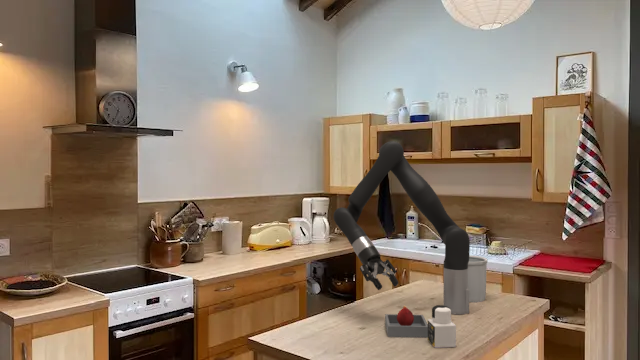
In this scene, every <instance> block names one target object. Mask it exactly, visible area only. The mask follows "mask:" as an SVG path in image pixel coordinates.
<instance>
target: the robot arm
mask: <svg viewBox="0 0 640 360" xmlns="http://www.w3.org/2000/svg"><path fill="white" fill-rule="evenodd" d="M404 151H405V150H404V148H403V145H402V144H401V143H400V142H398V141H393V140H390V141H387V142H385V143H383V144H382V145H381V146H380V148H379V150H378V156H377V158H376V160H375V162H374V164H373V166H372V167H371V168H370V170H369V171H368V172H367V173H366V174H365V176H364V177H363V178H362V179H361V181H360V182H359V183H358V184H357V185H356V187H355V188H354V190H353V191H352V192H351V194H350V195H349V197H348V199H347V200H348V203H349V204H348V206H347V208H346V207H338V208H337V209H335V210H334V212H333V221H334V223H335V224H336V226H337V228H338V229H340V231H341V232H342V233H343V235H345V238H347V241H348V242H349V243H350V246H351V247H352V249H353V252H354V253H355V254H356V256H357V258H358V259H359V261H360V262H361V264H362V265H361V266H360V267H359V270H360V272H361V274H362V275H363V277H364V279H365V280H366V282H371V283H372V284H373V285H374V287H375V289H377V290H378V291H380V290H381V289H383V285H382V283H381V281H380V280H379V278H377V276H378V275H382V276H386V277H388V278H389V280H390V282H391V284H392V285H393V287H397V286H398V285H399V280H398V278H397V277H396V276H395V274H396V273H397V269H395V267H394V266H393V264H392V263H391V261H390V260H389V259H386V260H384V261H383V260H382V258H381V254H380V252H379V251H378V249H377V247H376V246H375V245H374V243H373V241H372V240H371V239H370V238H369V237H368V235H367V234H366V231H364V229H363V228H362V227H361V225H359V224H358V223H357V222H358V221H359V218H360V216H361V214H362V212H363V209H364V208H365V206H366V204H367V203H368V202H369V200H370V199H371V198H372V196H373V194H374V193H375V192H376V191H377V190H378V187H379V186H380V184H381V183H382V181H383V180H384V178H385V177H386V176H387V175H388V174H389V173H390V171H391V172H392V174H393V175H394V176H395V177H396V179H397V180H398V182H399V183H400V185H401V187H402V188H403V190H404V191H405V193H406V194H407V196H408V197H409V199H410V200H411V201H412V202H413V204H414V205H415V207H416V208H417V209H418V211H420V213H421V214H422V215H423V216H424V217H425V218H426V219H427V220H428V222H430V223H431V225H432V226H433V228H434V229H435V230H436V232H437V233H438V235H439V237H440V239H441V240H442V242H443V244H444V246H445V249H444V250H445V252H444V260H443V302H442V303H443V306H447V307H449V308H450V309H451V315H465V314H469V313H470V302H469V289H468V262H469V255H470V249H471V248H470V244H471V243H470V236H469V234H468V233H467V231H466V230H464V229H463V228H461V227H460V226H459V225H458V224H456V222H455V221H454V220H453V219H452V217H450V215H449V214H448V212H447V211H446V210H445V207H444V205H443V203H442V201H441V199H440V198H439V196H438V195H437V193H436V192H435V191H434V189H433V188H432V187H431V185H430V183H428V181H427V180H425V179H424V177H422V175H421V174H419V173H418V172H417V171H416V170H415V169H414V168H413V167H412V165H411V164H410V162H409V161H408V160H407V158H406V157H405V152H404Z"/></svg>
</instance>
